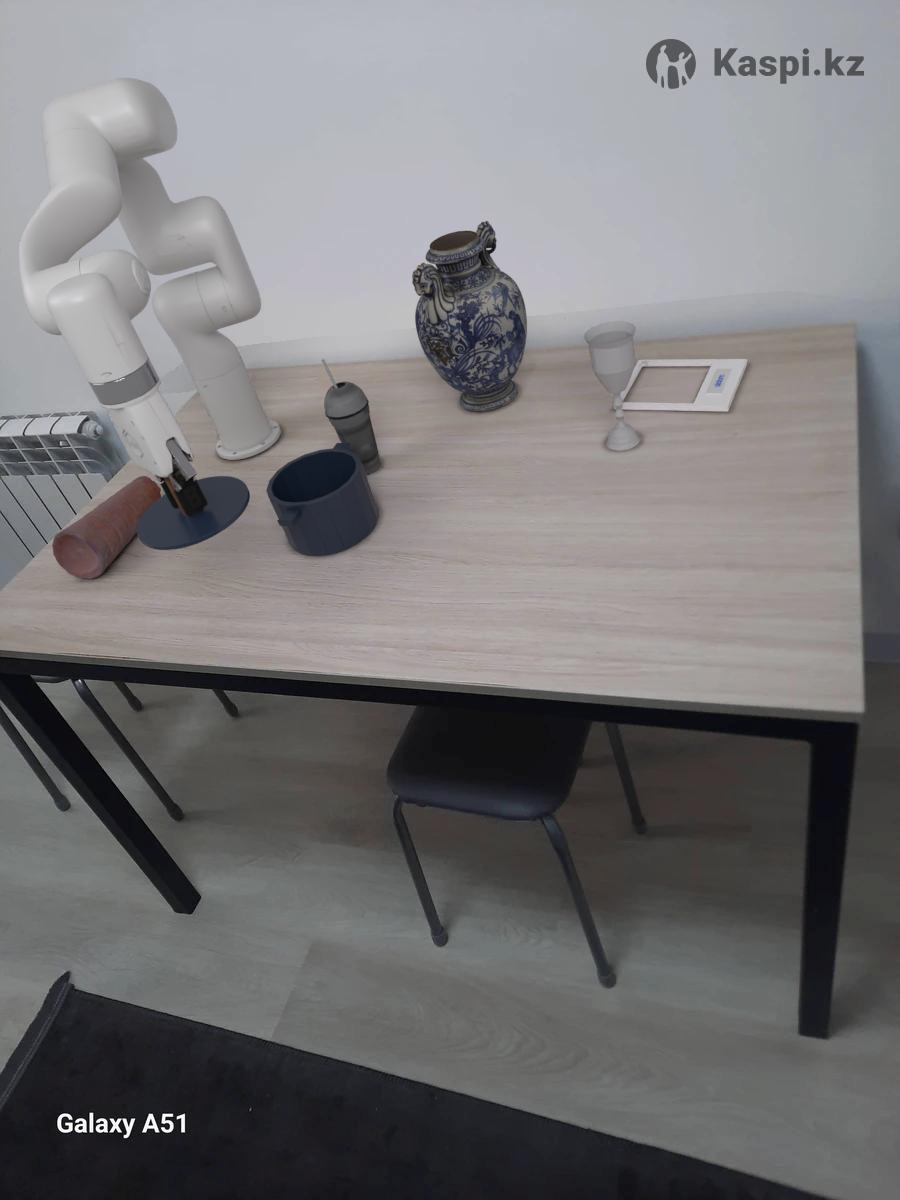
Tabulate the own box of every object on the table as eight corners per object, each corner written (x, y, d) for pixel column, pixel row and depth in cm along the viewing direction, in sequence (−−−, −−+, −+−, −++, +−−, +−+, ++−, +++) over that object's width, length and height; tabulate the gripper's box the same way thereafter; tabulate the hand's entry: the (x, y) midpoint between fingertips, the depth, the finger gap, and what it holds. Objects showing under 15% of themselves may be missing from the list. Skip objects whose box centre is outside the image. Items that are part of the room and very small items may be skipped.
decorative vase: (479, 363, 164) (444, 213, 146) (563, 371, 153) (536, 211, 135) (413, 422, 152) (367, 267, 135) (499, 435, 142) (461, 269, 124)
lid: (118, 551, 113) (92, 510, 109) (182, 482, 123) (161, 442, 119) (212, 556, 107) (189, 513, 102) (271, 483, 117) (253, 441, 113)
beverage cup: (382, 477, 141) (344, 367, 128) (342, 481, 143) (301, 373, 130) (393, 453, 146) (357, 344, 133) (353, 457, 148) (315, 350, 135)
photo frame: (727, 405, 130) (613, 403, 139) (727, 411, 131) (614, 409, 139) (747, 357, 139) (638, 358, 148) (747, 364, 140) (639, 364, 148)
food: (113, 579, 137) (85, 536, 131) (67, 580, 140) (37, 538, 134) (175, 499, 152) (152, 457, 146) (131, 502, 155) (107, 461, 149)
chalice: (594, 453, 131) (578, 345, 120) (605, 429, 136) (590, 322, 124) (641, 454, 128) (629, 342, 117) (651, 429, 133) (640, 319, 121)
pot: (264, 565, 130) (240, 515, 124) (322, 487, 143) (302, 439, 137) (347, 570, 124) (326, 518, 118) (399, 488, 137) (383, 438, 131)
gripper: (70, 385, 106) (139, 505, 118) (128, 411, 95) (198, 540, 107) (122, 356, 109) (184, 476, 121) (184, 379, 98) (245, 508, 110)
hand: (190, 505), depth 114 cm, fingers closed on lid, 2 cm apart
